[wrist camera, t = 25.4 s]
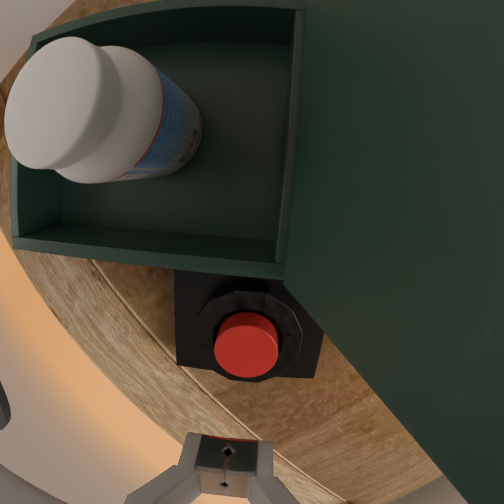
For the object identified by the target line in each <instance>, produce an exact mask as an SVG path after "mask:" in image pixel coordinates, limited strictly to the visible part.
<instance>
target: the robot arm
mask: <svg viewBox="0 0 504 504" xmlns="http://www.w3.org/2000/svg"><path fill="white" fill-rule="evenodd" d="M201 493H206V494H214V495H225V496H232V497H240V498H248V500H249V502H250V503H251V504H300V503H299V502H298V501H297V500H296V499H295V497H294V496H293V495H292V494H291V493H290V492H289V490H288V489H287V488H286V487H285V486H284V484H283V483H282V482H281V481H280V480H279V478H278V477H273V442H272V441H259V440H248V439H236V438H223V437H216V436H210V435H204V434H197V433H192V432H188V434H187V436H186V439H185V443H184V446H183V450H182V453H181V456H180V459H179V463H178V466H177V465H173V466H172V467H170V468H169V469H167V470H166V471H164V472H163V473H161V474H160V475H159V476H157V477H156V478H154V479H153V480H151V481H150V482H148V483H147V484H145V485H144V486H142V487H140V488H139V489H137V490H136V491H134V492H132V493H131V494H129V495H128V496H127V498H126V500H125V503H124V504H191V503H192V502H193V501H194V500H195V499H196V498H197V497H198V496H199V495H200V494H201ZM0 504H68V503H66V502H64V501H62V500H60V499H58V498H55V497H54V496H52V495H50V494H48V493H46V492H44V491H43V490H41V489H39V488H37V487H36V486H34V485H32V484H30V483H29V482H27V481H25V480H24V479H22V478H21V477H19V476H18V475H16V474H14V473H13V472H11V471H10V470H8V469H7V468H5V467H4V466H3V465H1V464H0Z"/></svg>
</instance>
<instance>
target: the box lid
mask: <svg viewBox="0 0 504 504" xmlns="http://www.w3.org/2000/svg"><path fill="white" fill-rule="evenodd" d="M283 284H284V286H285V287H286V288H287V289H288V290H289V291H290V293H291V294H292V295H293V296H294V297H295V298H296V300H297V301H298V302H299V303H300V304H301V306H302V307H303V308H304V309H305V310H306V311H307V313H308V314H309V315H310V316H311V317H312V318H313V320H314V321H315V322H316V323H317V324H318V326H319V327H320V328H321V329H322V330H323V331H324V333H325V334H326V335H327V336H328V337H329V339H330V340H331V341H332V342H333V343H334V344H335V346H336V347H337V348H338V349H339V350H340V352H341V353H342V354H343V355H344V356H345V357H346V359H347V360H348V361H349V362H350V363H351V365H352V366H353V367H354V368H355V369H356V370H357V372H358V373H359V374H360V375H361V376H362V378H363V379H364V380H365V381H366V382H367V383H368V385H369V386H370V387H371V388H372V389H373V391H374V392H375V393H376V394H377V395H378V396H379V398H380V399H381V400H382V401H383V402H384V404H385V405H386V406H387V407H388V408H389V410H390V411H391V412H392V413H393V414H394V415H395V417H396V418H397V419H398V420H399V421H400V423H401V424H402V425H403V426H404V427H405V429H406V430H407V431H408V432H409V433H410V434H411V436H412V437H413V438H414V439H415V440H416V442H417V443H418V444H419V445H420V446H421V448H422V449H423V450H424V451H425V452H426V454H427V455H428V456H429V457H430V458H431V460H432V461H433V462H434V463H435V464H436V465H437V467H438V468H439V469H440V470H441V471H442V473H443V474H444V475H445V476H446V477H447V479H448V480H449V481H450V482H451V483H452V485H453V486H454V487H455V488H456V489H457V491H458V492H459V493H460V494H461V495H462V496H463V498H464V499H465V500H466V501H467V503H468V504H504V0H306V16H305V40H304V59H303V77H302V93H301V107H300V121H299V134H298V146H297V158H296V169H295V180H294V190H293V200H292V210H291V220H290V229H289V238H288V247H287V256H286V264H285V273H284V281H283Z"/></svg>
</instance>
